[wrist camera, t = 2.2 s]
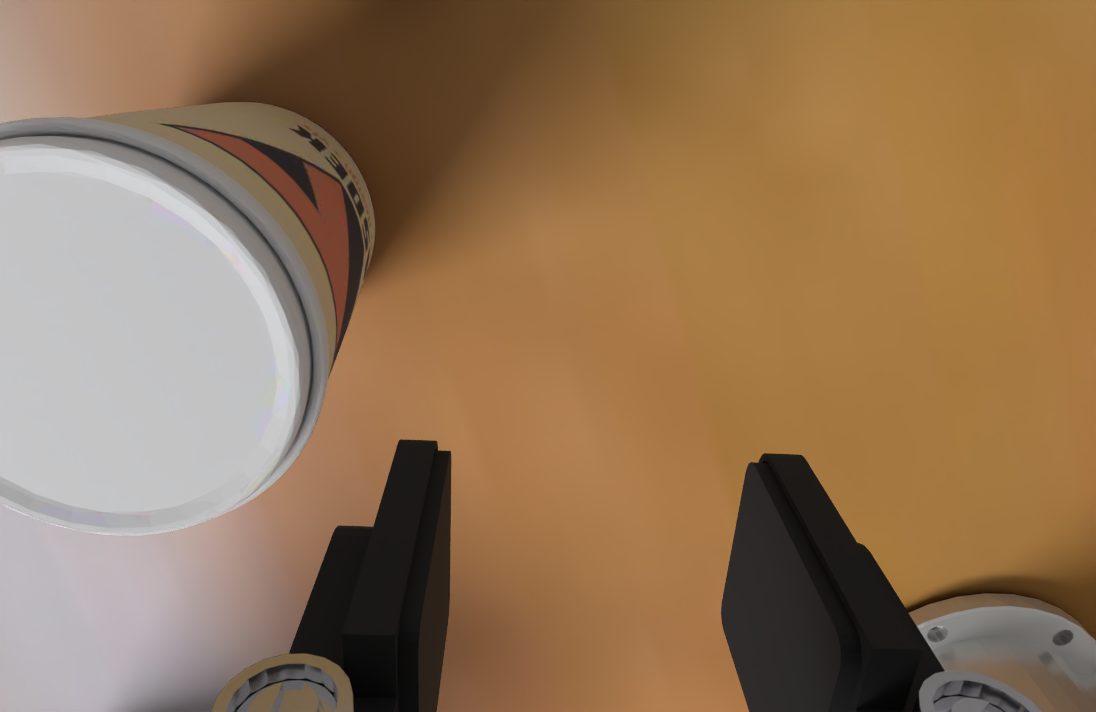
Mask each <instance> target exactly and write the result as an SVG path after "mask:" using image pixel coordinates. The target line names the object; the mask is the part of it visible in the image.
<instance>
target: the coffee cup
mask: <svg viewBox="0 0 1096 712" xmlns="http://www.w3.org/2000/svg"><path fill="white" fill-rule="evenodd" d="M374 241H375V218H374V210H373V206H372V202H371V198H370V194H369V191H368V189H367V186H366V183H365V181H364V179H363V177H362V175H361V173H360V171H359V169H358V167H357V166H356V164H355V163H354V161H353V160H352V158H351V157H350V156H349V154H348V153H347V152H346V151H345V149H344V148H343V147H342V146H341V145H340V144H339V143H338V142H337V141H336V140H335V139H334V138H333V137H332V136H331V135H330V134H328V133H327V132H326V131H325V130H324V129H322V128H321V127H320V126H318V125H317V124H315V123H313V122H312V121H310V120H309V119H307V118H305V117H303V116H301V115H299V114H297V113H295V112H292V111H289V110H286V109H284V108H280V107H277V106H273V105H269V104H263V103H256V102H225V103H213V104H203V105H194V106H184V107H175V108H166V109H156V110H147V111H137V112H128V113H119V114H112V115H105V116H97V117H90V118H73V117H59V118H33V119H26V120H18V121H11V122H6V123H2V124H0V503H1V504H3V505H5V506H6V507H8V508H10V509H12V510H14V511H16V512H19V513H22V514H24V515H27V516H30V517H32V518H35V519H38V520H41V521H44V522H46V523H49V524H52V525H55V526H58V527H63V528H68V529H73V530H78V531H84V532H90V533H95V534H102V535H148V534H156V533H165V532H170V531H174V530H178V529H183V528H186V527H190V526H193V525H196V524H199V523H202V522H206V521H208V520H210V519H212V518H214V517H217V516H220V515H223V514H225V513H227V512H229V511H231V510H234V509H236V508H238V507H240V506H242V505H244V504H245V503H247V502H249V501H250V500H252V499H254V498H255V497H257V496H258V495H260V494H261V493H262V492H263V491H265V490H266V489H267V488H269V487H270V486H271V485H273V484H274V483H275V482H276V481H277V480H278V479H279V478H280V477H281V476H282V475H283V474H284V473H285V472H286V470H287V469H288V468H289V467H290V466H291V464H292V463H293V462H294V461H295V459H296V458H297V457H298V455H299V454H300V453H301V451H302V450H303V448H304V446H305V445H306V443H307V441H308V440H309V438H310V436H311V434H312V432H313V429H314V427H315V425H316V423H317V420H318V417H319V414H320V411H321V407H322V404H323V400H324V397H325V393H326V387H327V381H328V378H329V375H330V373H331V370H332V367H333V365H334V362H335V360H336V357H337V354H338V352H339V349H340V346H341V343H342V341H343V338H344V335H345V332H346V330H347V327H348V324H349V321H350V319H351V316H352V313H353V310H354V308H355V305H356V302H357V299H358V296H359V294H360V291H361V288H362V285H363V283H364V280H365V277H366V274H367V271H368V267H369V264H370V260H371V256H372V252H373V247H374Z"/></svg>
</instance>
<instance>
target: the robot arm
mask: <svg viewBox="0 0 1096 712" xmlns="http://www.w3.org/2000/svg"><path fill="white" fill-rule="evenodd" d="M450 525H451V451H438V444H437V441H426V440H399V442H398V445H397V449H396V452H395V455H394V459H393V462H392V466H391V469H390V472H389V476H388V479H387V483H386V486H385V489H384V493H383V496H382V500H381V503H380V506H379V510H378V513H377V517H376V520H375V523H374V527H364V526H338V527H337V528H336V529H335V531H334V533H333V535H332V538H331V541H330V543H329V546H328V549H327V551H326V554H325V557H324V560H323V562H322V565H321V568H320V571H319V573H318V576H317V579H316V581H315V584H314V587H313V590H312V592H311V595H310V598H309V600H308V603H307V606H306V609H305V611H304V614H303V617H302V620H301V622H300V625H299V628H298V630H297V633H296V636H295V639H294V641H293V644H292V647H291V649H290V652H289V654H284V655H280V656H276V657H272V658H267V659H264V660H262V661H260V662H258V663H256V664H254V665H252V666H250V667H248V668H246V669H244V670H243V671H242V672H241V673H239V674H238V675H237V676H235V677H234V678H233V679H231V680H230V681H229V682H228V683H227V685H226V686H225V687H224V689H223V690H222V691H221V692H220V694H219V695H218V696H217V698H216V701H215V704H214V707H213V709H212V712H436V711H437V703H438V696H439V688H440V680H441V672H442V664H443V656H444V649H445V641H446V633H447V625H448V616H449V601H450ZM721 616H722V625H723V629H724V633H725V636H726V639H727V642H728V645H729V649H730V652H731V655H732V658H733V661H734V664H735V668H736V671H737V674H738V677H739V680H740V683H741V687H742V690H743V693H744V696H745V699H746V702H747V706H748V709H749V712H1096V640H1095V639H1094V638H1093V637H1092V636H1091V635H1090V634H1089V633H1088V632H1087V631H1086V630H1085V629H1084V627H1083V626H1082V625H1081V624H1080V623H1079V622H1078V621H1077V620H1076V619H1074V618H1073V617H1071V616H1070V615H1069V614H1067V613H1066V612H1064V611H1063V610H1061V609H1060V608H1058V607H1056V606H1053V605H1051V604H1048V603H1046V602H1043V601H1041V600H1039V599H1034V598H1029V597H1024V596H1019V595H1014V594H992V593H984V594H976V595H967V596H959V597H954V598H950V599H947V600H943V601H939V602H935V603H932V604H928V605H926V606H924V607H921V608H919V609H916V610H914V611H912V612H909V613H908V611H907V610H906V608H905V607H904V605H903V603H902V602H901V600H900V599H899V597H898V596H897V594H896V592H895V591H894V589H893V588H892V586H891V584H890V583H889V581H888V580H887V578H886V577H885V575H884V573H883V572H882V570H881V569H880V567H879V565H878V564H877V562H876V561H875V559H874V558H873V556H872V554H871V553H870V551H869V550H868V549H867V548H866V547H865V546H864V545H862V544H860V543H857V542H856V540H855V539H854V537H853V535H852V534H851V532H850V531H849V529H848V527H847V526H846V524H845V522H844V521H843V519H842V518H841V516H840V514H839V513H838V511H837V509H836V508H835V506H834V505H833V503H832V501H831V500H830V498H829V496H828V495H827V493H826V492H825V490H824V488H823V487H822V485H821V484H820V482H819V480H818V479H817V477H816V475H815V474H814V472H813V471H812V469H811V467H810V466H809V464H808V462H807V461H806V459H805V458H804V457H803V456H802V455H792V454H766V453H764V454H763V455H762V456H761V458H760V460H759V463H753V462H751V463H749V465H748V467H747V470H746V474H745V480H744V485H743V491H742V496H741V501H740V507H739V512H738V518H737V523H736V529H735V534H734V540H733V545H732V550H731V556H730V561H729V567H728V572H727V578H726V583H725V589H724V594H723V599H722V607H721Z"/></svg>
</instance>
